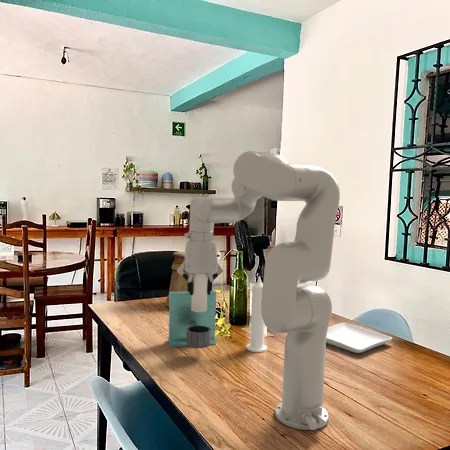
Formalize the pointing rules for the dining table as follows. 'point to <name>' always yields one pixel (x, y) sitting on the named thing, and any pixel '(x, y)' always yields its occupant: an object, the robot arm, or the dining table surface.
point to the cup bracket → (191, 321)
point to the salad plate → (354, 337)
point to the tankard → (177, 276)
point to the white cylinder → (199, 293)
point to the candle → (257, 320)
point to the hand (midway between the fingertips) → (199, 293)
